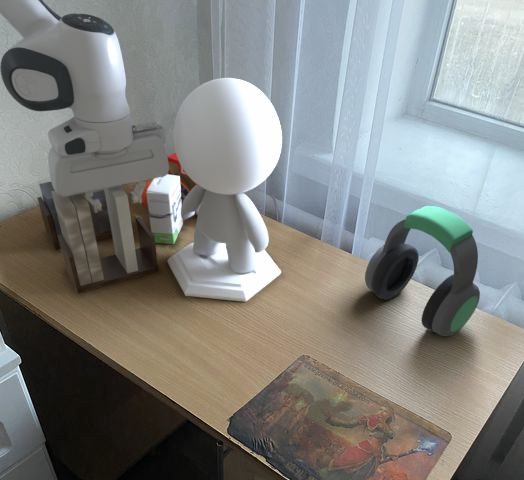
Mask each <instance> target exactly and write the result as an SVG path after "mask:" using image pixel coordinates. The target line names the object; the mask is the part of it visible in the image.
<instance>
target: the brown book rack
mask: <svg viewBox="0 0 524 480" xmlns="http://www.w3.org/2000/svg"><path fill="white" fill-rule="evenodd" d="M51 192H52V196H53V200H54V204H55V208H56V212H57V216H58V220H59V224H60V228H61V231H62V235H63V236H62V235H58V236H57V237H58V240H59V244H60V248H61V249H60V252H61V255H62V259H63V263H64V267H65V270H66V273H67V275H68V277H69V278H70V281H71V282H72V285H73V286H74V288H75V290H76V292H77V294H80V293H83V292H84V293H85V292H87V291H91V290H95V289H99V288H102V287H105V286H109V285H112V284H116V283H120V282H124V281H127V280H132V279H134V278H137V277H141V276H145V275H149V274H152V273H156V272H158V271H159V265H158V256H157V248H156V247H157V246H156V243H155V238H154V235H153V234H152V232H151V229H150V228H149V227H148V226H147V224H146V223H145V222H144V220H143V219H142V217H140V216H136V217H135V222H136V223H135V224H136V229H137V237H138V245H139V247H137V248H135V252H136V259H137V266H138V271H135V272H131V273H127V272H126V270H125V269H124V267H123V266H122V264H121V263H120V261H119V259H118V258H117V256H116V254H115V253H114V254H110V255H107V256H103V257H100V252H99V248H98V243H97V242H98V241H97V240H96V238H95V233H94V228H93V223H92V218H91V213H90V208H89V204H88V201H87V199H86V198H85V196H84V195H83V193H81V194H77V195H72V196H67V197H61V196H60V195H58V194H57V193H56V192H55V191H51Z"/></svg>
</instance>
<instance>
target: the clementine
mask: <svg viewBox="0 0 524 480" xmlns="http://www.w3.org/2000/svg"><path fill="white" fill-rule="evenodd" d="M152 181H153V179H150V180H148V181H146V186H145V189H144V191H143V193H142V195H141V198H142V204H143V205H144V206H145V207H146V208H147V209H148V202H147V194H146V192H147V189H148V187H149V186H150V184H151V182H152Z"/></svg>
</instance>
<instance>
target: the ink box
mask: <svg viewBox="0 0 524 480" xmlns="http://www.w3.org/2000/svg"><path fill="white" fill-rule="evenodd" d="M146 194H147V202H148V208H147V209H148V210H147V211H148V217H149V224H150V231H151V232H152V234H153V235H154V238H155V244H167V245H175V243H176V240H177V239H178V236H179V234H180V232H181V229H182V228H183V225H184V220H183V219H182V217H181V207H182V201H181V186H180V176H176V175H169V174H168V173H167V175H166V176H163V177H158V178H154V179H153V181H152V182H151V184H150V186H149V187H148V189H147V192H146Z"/></svg>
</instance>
